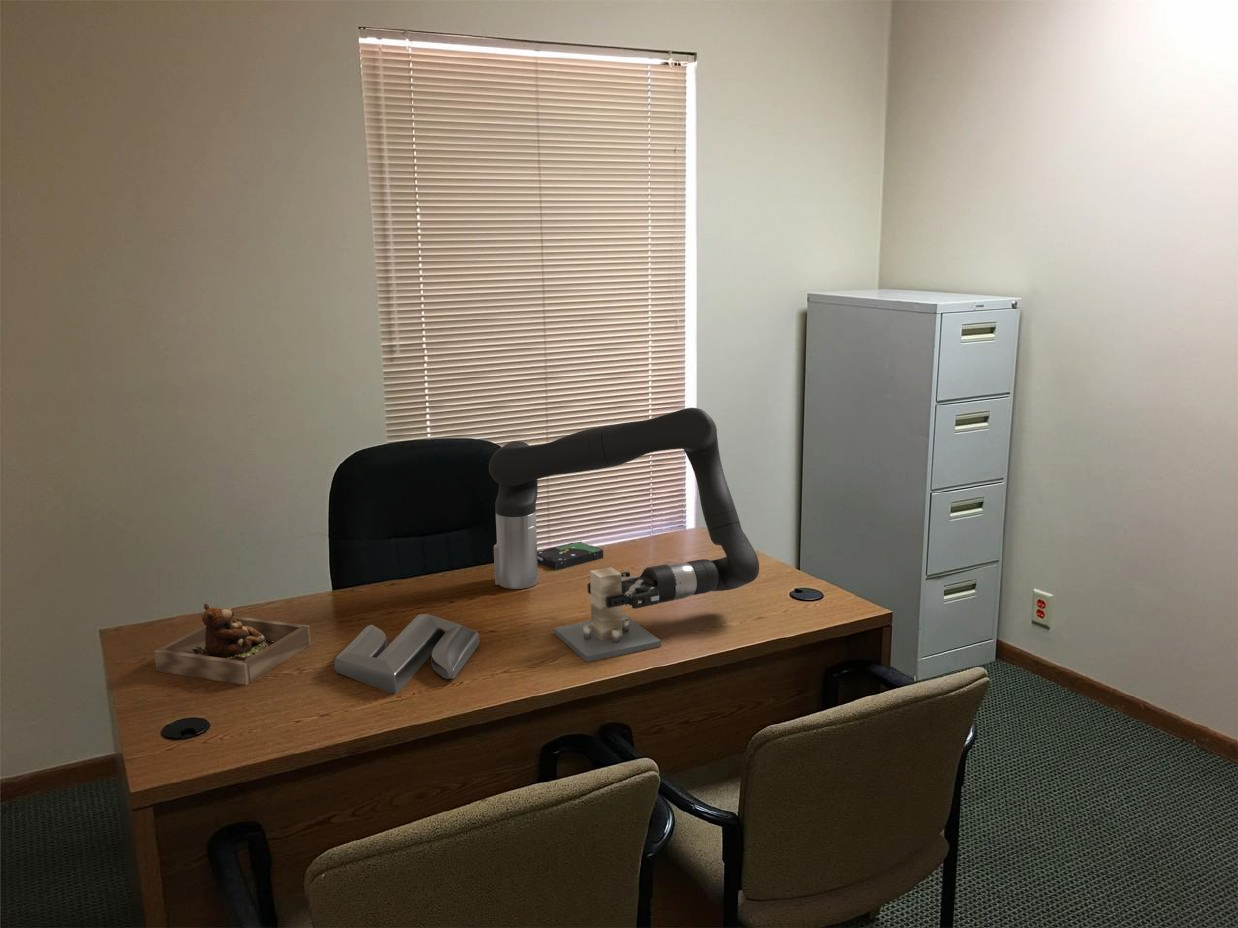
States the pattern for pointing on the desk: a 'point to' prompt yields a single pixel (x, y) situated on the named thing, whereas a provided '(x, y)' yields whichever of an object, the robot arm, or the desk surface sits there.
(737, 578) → the robot arm
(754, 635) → the desk surface
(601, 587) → the birch post
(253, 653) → the bear figurine
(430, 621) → the emblem
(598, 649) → the slate base plate
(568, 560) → the disk drive
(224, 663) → the walnut display rim
